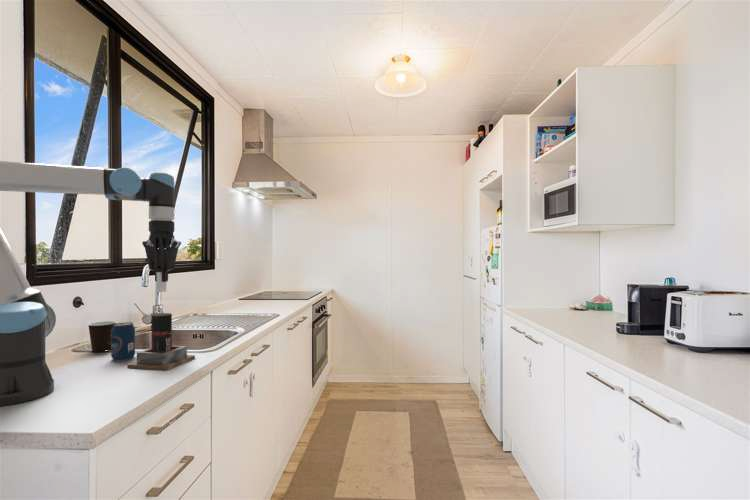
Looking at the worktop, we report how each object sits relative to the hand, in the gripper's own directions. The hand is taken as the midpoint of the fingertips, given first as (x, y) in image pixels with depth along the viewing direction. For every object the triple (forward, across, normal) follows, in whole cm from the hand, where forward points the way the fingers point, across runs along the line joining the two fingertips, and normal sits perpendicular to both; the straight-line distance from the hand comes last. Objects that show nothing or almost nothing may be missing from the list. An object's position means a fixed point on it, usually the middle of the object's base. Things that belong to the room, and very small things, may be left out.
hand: (161, 291), depth 132 cm
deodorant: (+23, 0, 0) cm, 23 cm away
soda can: (+24, +17, -2) cm, 29 cm away
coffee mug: (+24, +34, -12) cm, 43 cm away
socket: (+24, 0, 0) cm, 24 cm away
